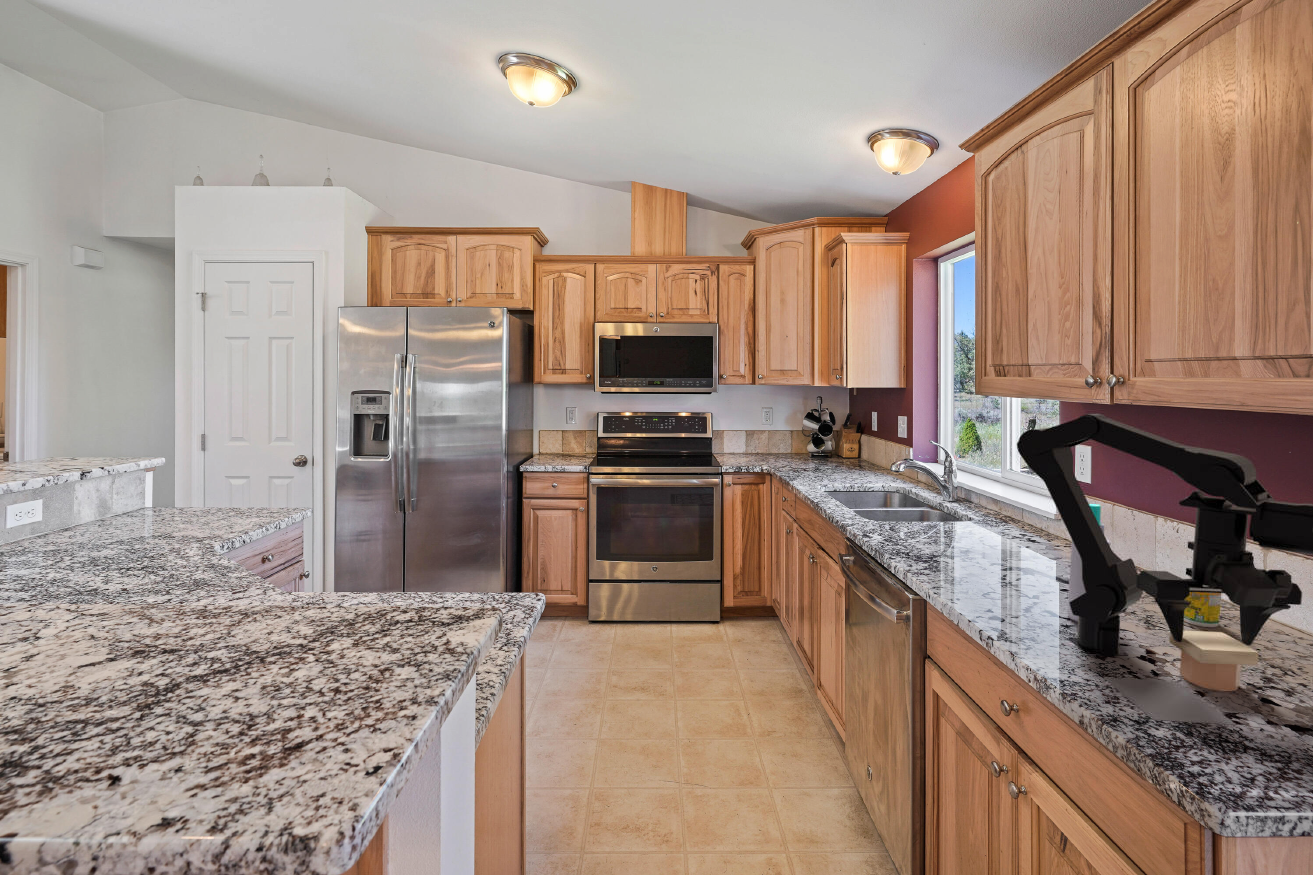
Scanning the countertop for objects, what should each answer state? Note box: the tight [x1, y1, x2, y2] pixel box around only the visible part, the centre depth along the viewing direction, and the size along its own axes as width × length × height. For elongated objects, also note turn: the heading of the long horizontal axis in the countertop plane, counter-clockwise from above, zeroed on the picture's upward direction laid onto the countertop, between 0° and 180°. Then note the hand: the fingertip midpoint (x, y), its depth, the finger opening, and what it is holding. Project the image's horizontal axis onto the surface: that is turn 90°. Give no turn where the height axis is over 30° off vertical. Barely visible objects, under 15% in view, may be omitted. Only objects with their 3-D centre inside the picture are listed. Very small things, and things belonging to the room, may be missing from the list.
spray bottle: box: [1067, 503, 1111, 623], centre depth 121 cm, size 6×6×22 cm
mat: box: [1103, 677, 1237, 726], centre depth 91 cm, size 12×10×1 cm
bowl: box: [1179, 650, 1242, 692], centre depth 96 cm, size 6×6×5 cm
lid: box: [1168, 630, 1260, 667], centre depth 96 cm, size 7×7×2 cm
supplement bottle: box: [1184, 576, 1222, 628], centre depth 119 cm, size 5×5×10 cm
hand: (1211, 642), depth 96 cm, fingers open, 9 cm apart
